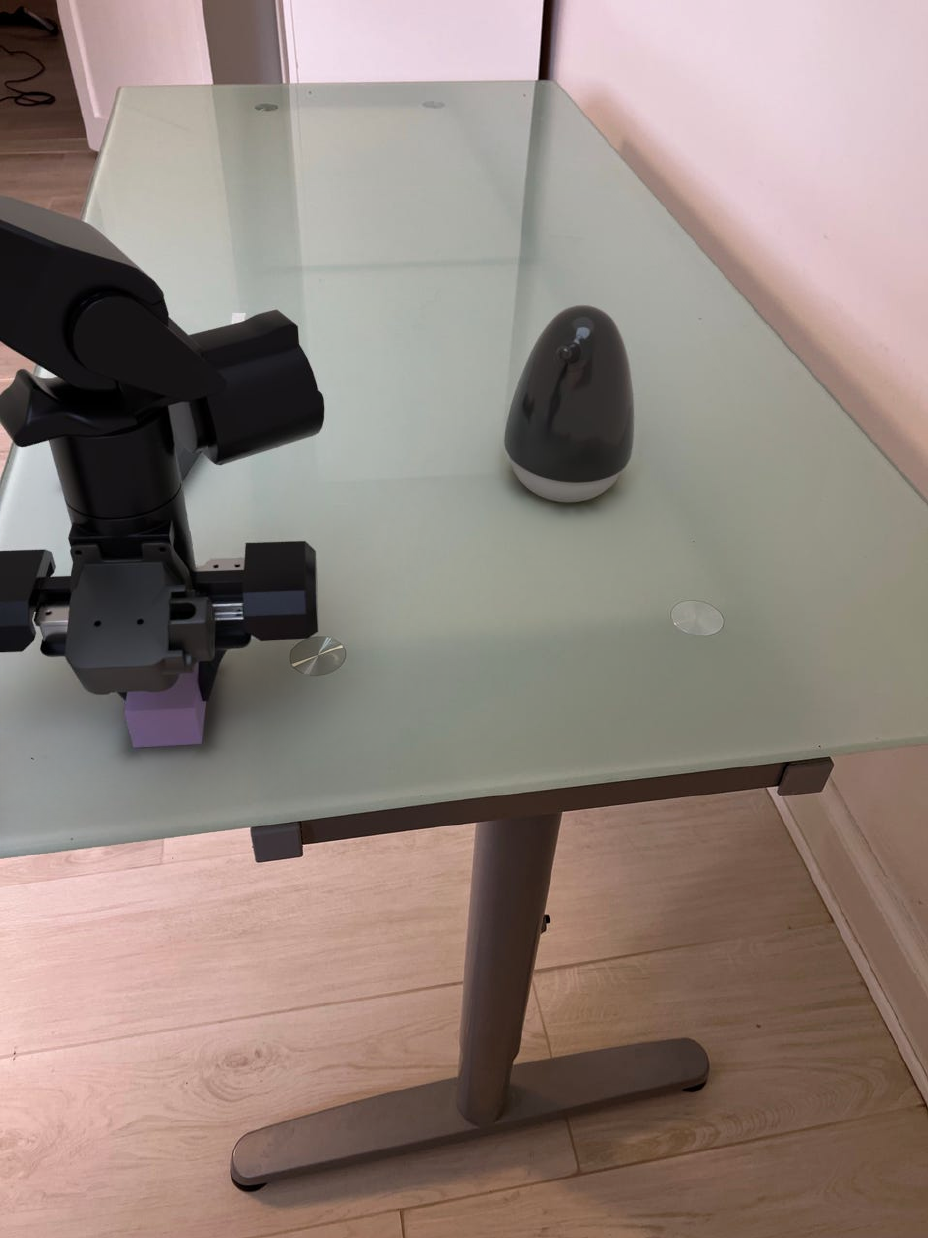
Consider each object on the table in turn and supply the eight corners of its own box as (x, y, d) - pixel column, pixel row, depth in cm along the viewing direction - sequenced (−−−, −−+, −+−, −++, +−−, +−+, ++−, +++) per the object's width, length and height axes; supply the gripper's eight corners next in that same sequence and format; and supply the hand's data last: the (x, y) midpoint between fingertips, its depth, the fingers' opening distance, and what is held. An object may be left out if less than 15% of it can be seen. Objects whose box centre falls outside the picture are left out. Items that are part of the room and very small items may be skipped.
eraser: (232, 372, 92) (228, 336, 90) (236, 348, 96) (232, 312, 93) (246, 372, 92) (242, 336, 90) (249, 348, 96) (246, 312, 94)
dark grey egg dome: (481, 501, 79) (494, 322, 69) (524, 438, 86) (542, 268, 76) (604, 535, 76) (636, 354, 66) (637, 467, 84) (671, 295, 73)
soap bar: (202, 744, 59) (194, 708, 57) (133, 748, 59) (123, 712, 56) (209, 673, 63) (202, 637, 61) (145, 676, 63) (136, 639, 61)
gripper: (-125, 598, 43) (-23, 816, 53) (310, 581, 45) (325, 794, 56) (-56, 456, 51) (20, 670, 61) (309, 448, 53) (323, 655, 64)
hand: (169, 698), depth 60 cm, fingers closed on soap bar, 4 cm apart
